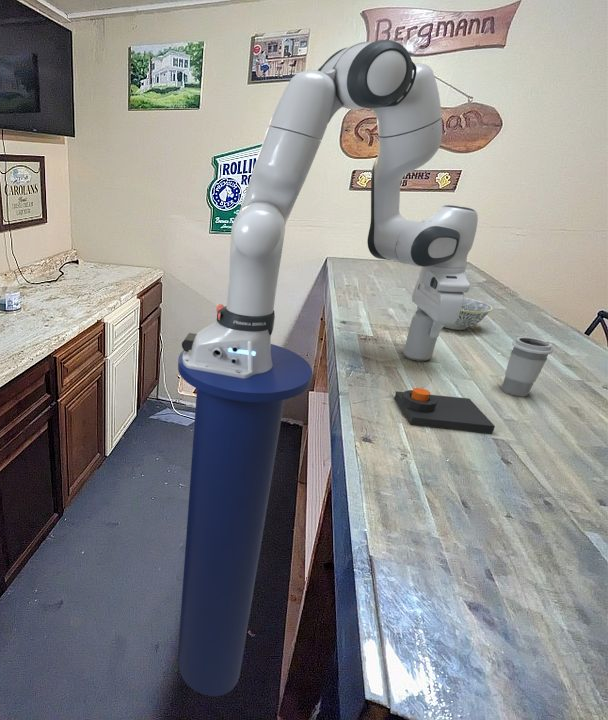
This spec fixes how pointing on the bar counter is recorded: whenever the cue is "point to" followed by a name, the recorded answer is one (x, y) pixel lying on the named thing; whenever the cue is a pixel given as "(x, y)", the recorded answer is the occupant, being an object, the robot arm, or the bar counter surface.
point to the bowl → (470, 314)
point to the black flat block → (444, 413)
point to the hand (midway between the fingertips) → (426, 330)
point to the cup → (525, 364)
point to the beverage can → (420, 338)
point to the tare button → (420, 394)
